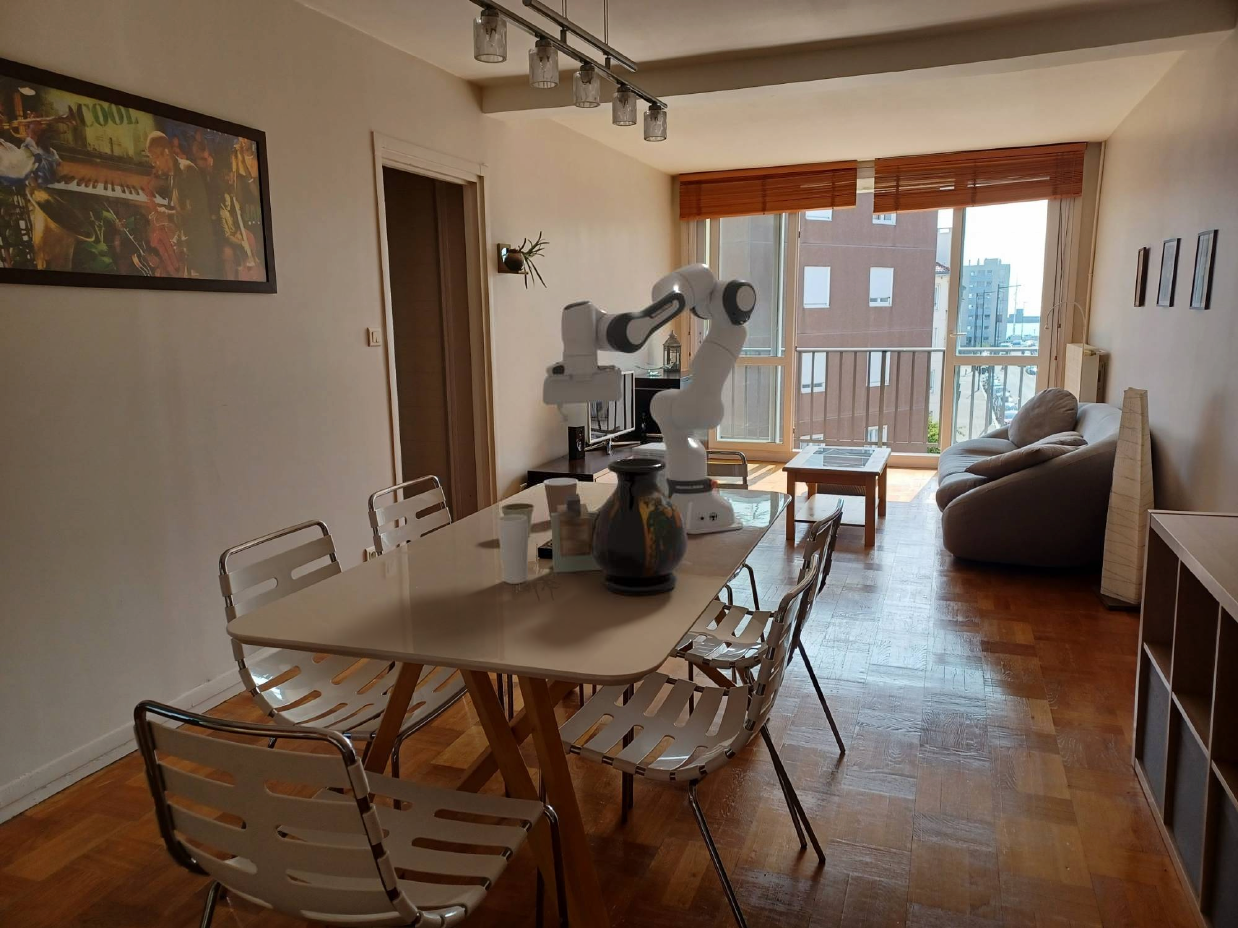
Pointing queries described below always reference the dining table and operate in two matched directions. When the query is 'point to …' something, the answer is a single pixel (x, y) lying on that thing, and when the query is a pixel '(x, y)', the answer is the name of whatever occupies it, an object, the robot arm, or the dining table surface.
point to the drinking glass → (514, 547)
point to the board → (571, 561)
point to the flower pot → (519, 511)
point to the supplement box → (657, 453)
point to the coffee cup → (559, 492)
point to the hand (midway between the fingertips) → (583, 420)
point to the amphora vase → (638, 531)
